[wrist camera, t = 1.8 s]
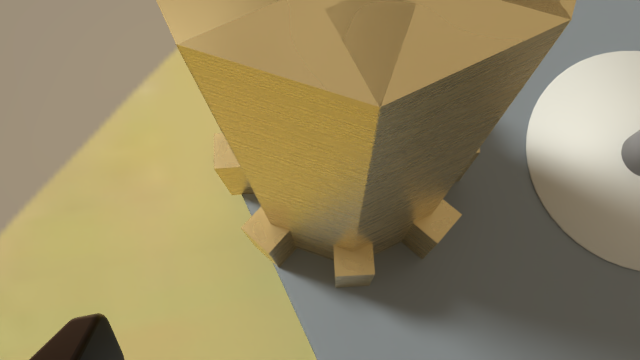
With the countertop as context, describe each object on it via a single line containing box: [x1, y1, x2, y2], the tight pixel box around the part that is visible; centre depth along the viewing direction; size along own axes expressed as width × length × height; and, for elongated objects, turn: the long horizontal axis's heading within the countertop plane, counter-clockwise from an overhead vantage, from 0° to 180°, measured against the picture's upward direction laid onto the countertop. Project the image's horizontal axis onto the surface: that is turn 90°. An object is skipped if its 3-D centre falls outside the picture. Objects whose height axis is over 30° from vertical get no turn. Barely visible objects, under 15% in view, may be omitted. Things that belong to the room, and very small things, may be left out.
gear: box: [156, 0, 576, 288], centre depth 14 cm, size 8×8×13 cm
